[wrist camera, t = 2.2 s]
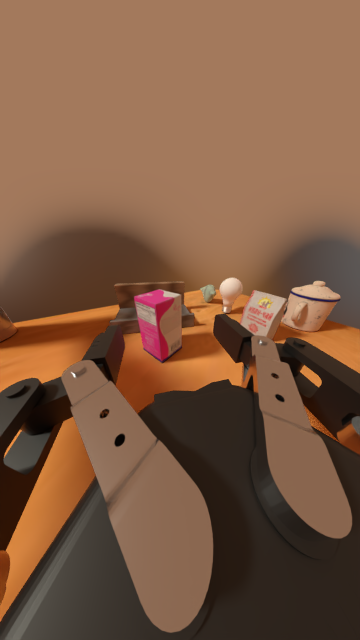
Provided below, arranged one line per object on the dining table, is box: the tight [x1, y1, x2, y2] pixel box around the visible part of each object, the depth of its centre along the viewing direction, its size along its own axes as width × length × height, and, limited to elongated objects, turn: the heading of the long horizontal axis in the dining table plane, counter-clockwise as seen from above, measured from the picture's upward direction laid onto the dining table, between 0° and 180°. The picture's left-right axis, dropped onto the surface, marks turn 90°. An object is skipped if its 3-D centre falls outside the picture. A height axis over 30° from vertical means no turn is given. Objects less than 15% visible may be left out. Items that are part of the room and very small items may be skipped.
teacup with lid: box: [281, 281, 340, 332], centre depth 33 cm, size 12×9×12 cm
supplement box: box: [134, 289, 182, 363], centre depth 24 cm, size 6×6×12 cm
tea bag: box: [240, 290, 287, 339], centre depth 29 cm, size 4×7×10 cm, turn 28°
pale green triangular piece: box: [201, 285, 216, 302], centre depth 48 cm, size 8×4×7 cm, turn 27°
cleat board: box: [109, 281, 194, 334], centre depth 36 cm, size 20×13×9 cm, turn 102°
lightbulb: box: [220, 278, 243, 313], centre depth 39 cm, size 6×6×11 cm
